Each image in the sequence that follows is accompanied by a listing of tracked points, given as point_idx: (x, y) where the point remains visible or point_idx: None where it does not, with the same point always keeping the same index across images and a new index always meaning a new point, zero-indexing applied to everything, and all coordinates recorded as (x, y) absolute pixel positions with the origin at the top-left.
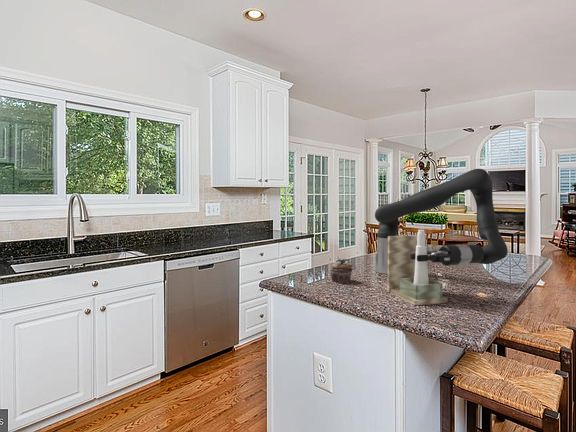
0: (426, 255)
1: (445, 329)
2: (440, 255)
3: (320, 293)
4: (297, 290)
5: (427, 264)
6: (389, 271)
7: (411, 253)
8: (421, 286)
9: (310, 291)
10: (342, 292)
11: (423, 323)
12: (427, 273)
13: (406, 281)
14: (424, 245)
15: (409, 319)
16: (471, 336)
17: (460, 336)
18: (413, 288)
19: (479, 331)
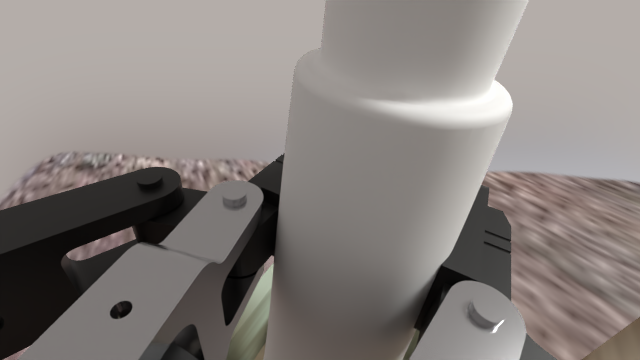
0: (267, 187)
1: (130, 167)
2: (10, 227)
3: (562, 200)
4: (611, 186)
5: (274, 326)
6: (607, 345)
7: (485, 187)
8: (264, 279)
9: (594, 198)
10: (564, 247)
11: (192, 170)
12: (264, 354)
13: None
14: (322, 38)
15: (234, 173)
16: (61, 164)
17: (92, 154)
18: None
19: (23, 196)
